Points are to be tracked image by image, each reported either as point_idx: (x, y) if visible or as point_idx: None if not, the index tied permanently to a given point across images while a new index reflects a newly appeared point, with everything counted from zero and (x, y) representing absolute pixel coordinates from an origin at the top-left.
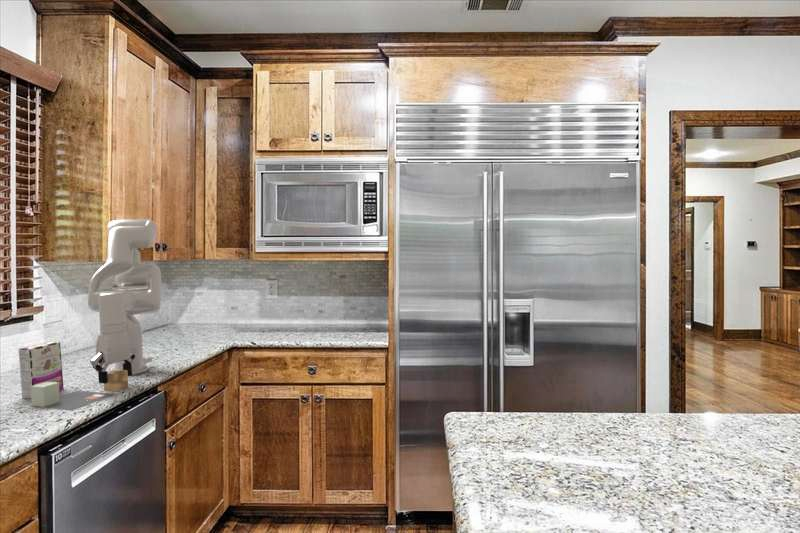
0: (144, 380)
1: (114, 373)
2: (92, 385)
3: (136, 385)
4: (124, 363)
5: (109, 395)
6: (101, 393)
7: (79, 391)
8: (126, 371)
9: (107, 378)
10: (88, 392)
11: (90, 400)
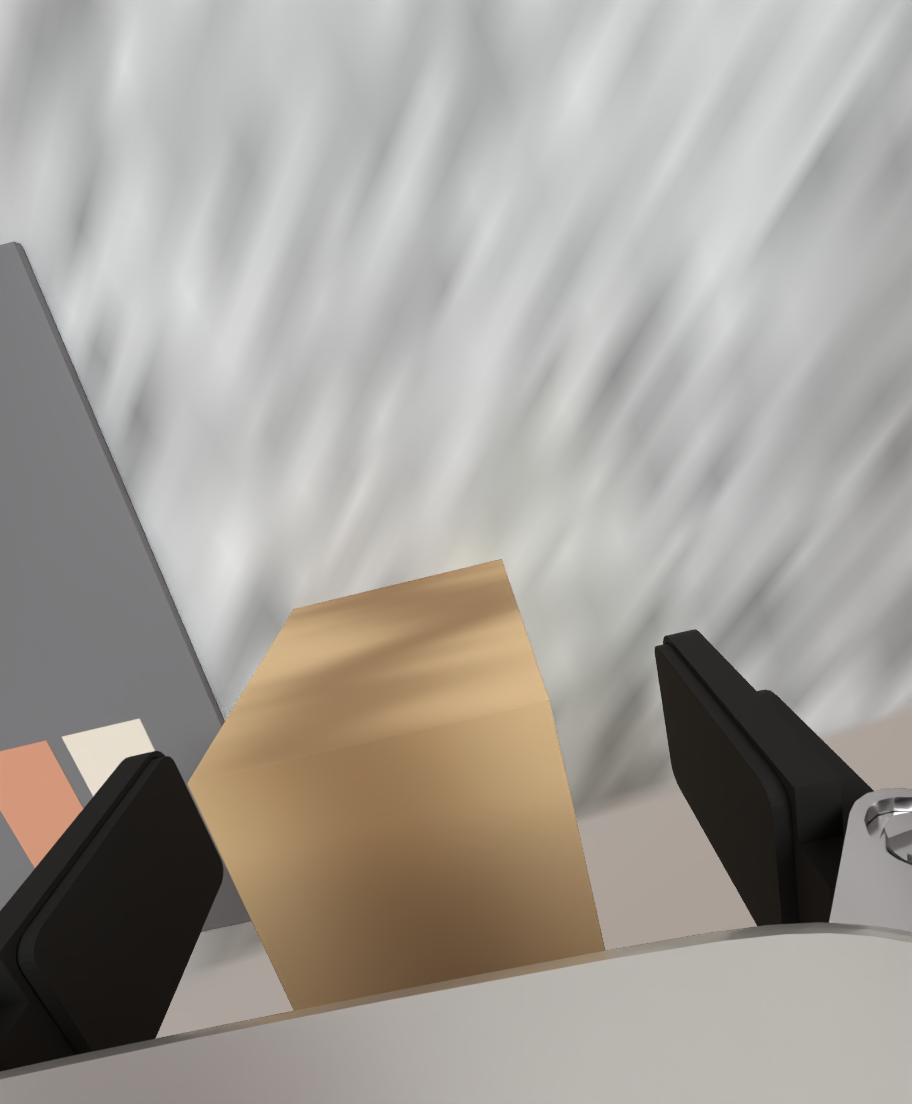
0: (867, 617)
1: (319, 995)
2: (333, 77)
3: (645, 747)
4: (815, 817)
5: (219, 889)
6: (195, 740)
7: (19, 337)
8: (578, 954)
9: (195, 937)
10: (98, 536)
11: (3, 885)
